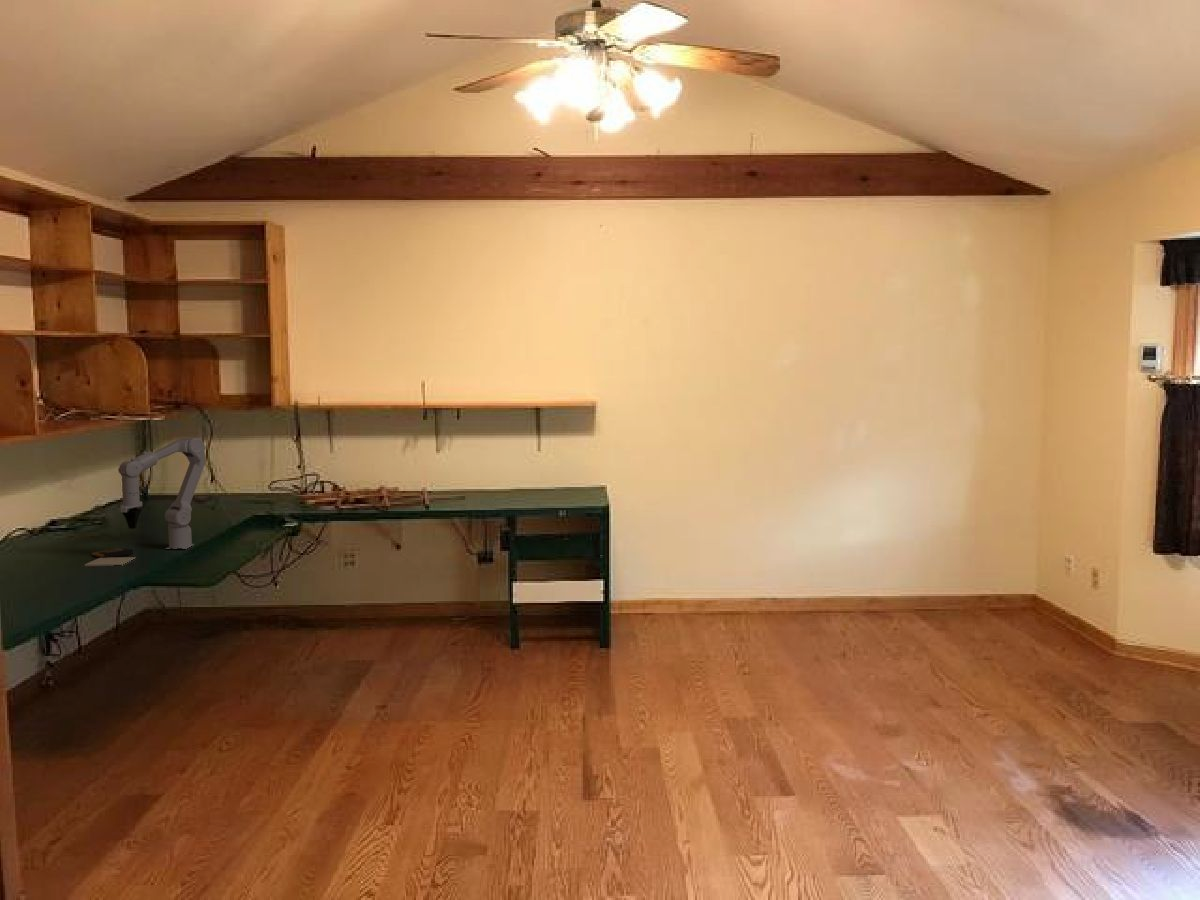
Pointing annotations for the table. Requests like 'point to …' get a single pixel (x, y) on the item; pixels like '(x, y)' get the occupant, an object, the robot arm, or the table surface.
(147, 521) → the table surface
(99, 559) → the mat
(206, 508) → the table surface
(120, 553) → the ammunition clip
